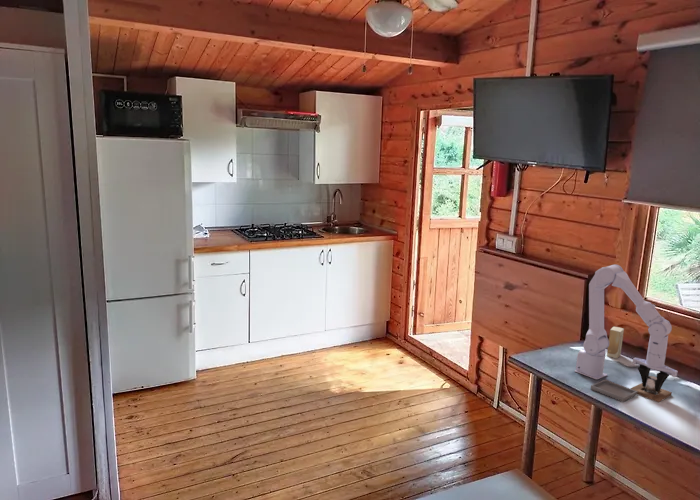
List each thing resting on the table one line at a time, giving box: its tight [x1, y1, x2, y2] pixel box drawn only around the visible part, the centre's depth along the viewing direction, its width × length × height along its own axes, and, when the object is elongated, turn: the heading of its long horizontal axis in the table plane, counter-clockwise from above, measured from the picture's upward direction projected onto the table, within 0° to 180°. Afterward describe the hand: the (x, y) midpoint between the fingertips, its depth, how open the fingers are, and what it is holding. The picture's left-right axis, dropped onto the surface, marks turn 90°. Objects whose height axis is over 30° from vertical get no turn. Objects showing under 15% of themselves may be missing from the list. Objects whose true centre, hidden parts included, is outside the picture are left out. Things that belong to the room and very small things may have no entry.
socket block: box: [630, 382, 673, 403], centre depth 192 cm, size 10×10×1 cm
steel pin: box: [643, 375, 658, 395], centre depth 192 cm, size 4×4×6 cm
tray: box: [590, 379, 638, 403], centre depth 192 cm, size 12×10×2 cm
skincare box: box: [606, 326, 625, 359], centre depth 228 cm, size 6×4×12 cm
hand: (651, 388), depth 192 cm, fingers closed on steel pin, 4 cm apart
